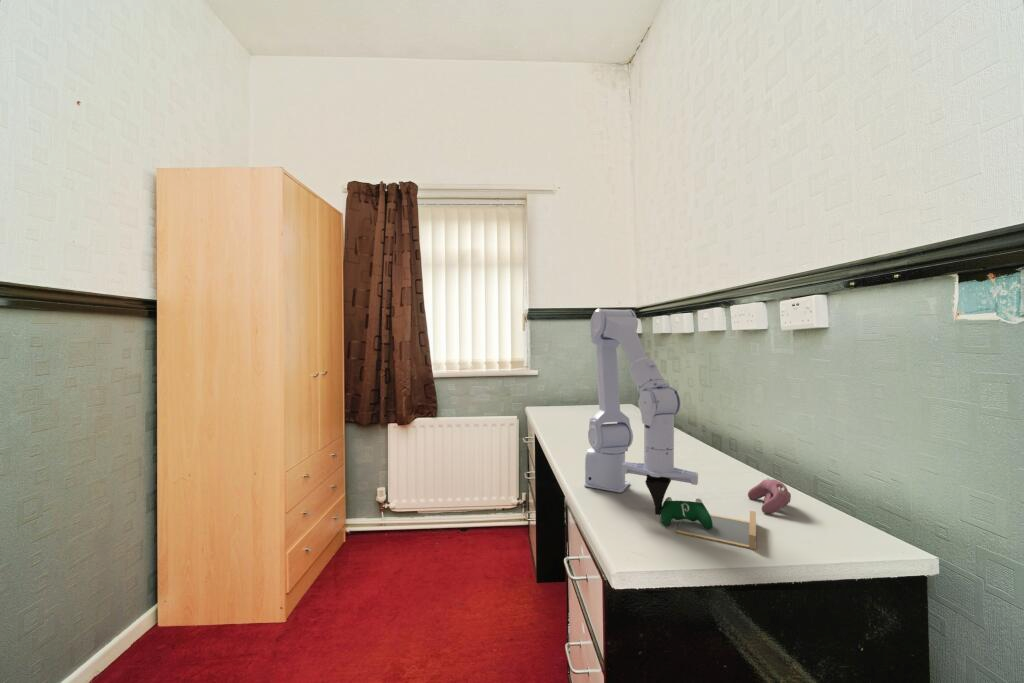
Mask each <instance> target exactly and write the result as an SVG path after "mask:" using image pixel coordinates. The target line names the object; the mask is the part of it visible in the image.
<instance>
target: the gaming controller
mask: <svg viewBox="0 0 1024 683" xmlns="http://www.w3.org/2000/svg"><path fill="white" fill-rule="evenodd" d="M673 520H675V521H681V520H690V521H693V522H694V521H696V520H698V521H699V522H700V523H701V524H702V526H703V527H704V528H706V529H711V528H712V527H713V523H712V519H711V516H710V513H709V510H708V509H707V507H706V506H705V504H704V503H703V501H702V500H701V498H696V499H695V500H694V501H691V500H690V501H689V500H672V497H671V496H667V497H666V498H665V500H664V502H663V503H662V509H661V514H660V522H661V525H662V526H664V527H668V526H670V525H671V523H672V521H673Z"/></svg>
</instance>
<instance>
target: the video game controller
mask: <svg viewBox="0 0 1024 683" xmlns="http://www.w3.org/2000/svg"><path fill="white" fill-rule="evenodd" d="M747 497H748V499H750V500H759V499H762V498H763V502H764V503H763V504H762V506H761V511H762V513H764V514H766V515H771V514H774V513H777V512H779V511H781V510H782V509H783V508H784V507H787V506H788V504H790V503H791V500H792V498H791V497H792V494H791V492H789V490H788V488H787V486H786V485H785V484H784V482H781V481H779V480H777V479H774V478H773V479H771V478H769V477H767V478H766V479H763V480H762V481H761V482H760V483H758V484H757V485H755V486H753V487H752V488H751V489H749V490H748V491H747Z"/></svg>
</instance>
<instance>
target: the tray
mask: <svg viewBox="0 0 1024 683" xmlns="http://www.w3.org/2000/svg"><path fill="white" fill-rule="evenodd" d="M709 514H710V513H709ZM756 514H757V511H753V510H749V520H748V521H747V520H742V519H739V518H732V517H727V516H722V515H717V514H710V516H711V519H712V523H713V527H712V528H711V529H706V528H704V527H703V526H702V524H701V523H700V522H699V521H698V520H696V521H694V522H693V521H690V520H679V521H680V522H679V524H678V526H677V529H676V534H681V535H685V536H690V537H694V538H699V539H703V540H709V541H713V542H718V543H722V544H727V545H732V546H737V547H741V548H746V549H751V550H756V549H757V548H756V547H757V544H756V543H757V542H756V540H757V539H756V538H757V526H756V525H757V522H756V521H757V515H756Z"/></svg>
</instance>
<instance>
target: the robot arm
mask: <svg viewBox="0 0 1024 683" xmlns="http://www.w3.org/2000/svg"><path fill="white" fill-rule="evenodd" d="M589 321H590V324H589V325H590V337H591V338H590V339H591V340H590V341H591V343H592V344H594V345H595V356H596V357H595V358H596V373H597V388H598V392H597V393H598V406H599V408H598V409H599V410H598V411H597V412H596V413H595V414H594V415H593V416H591V417H590V419H589V424H588V425H589V426H588V427H589V428H588V432H587V439H588V443H589V445H590V447H589V448H588V449H587V451H586V453H585V459H584V460H585V463H584V464H585V465H584V470H585V471H584V473H585V476H584V481H585V482H584V485H583V486H584V487H587V488H593V489H599V490H603V491H609V492H614V493H619V494H620V493H623V492H624V491H625V490H626V489H627V488H628V486H629V485H630V484H631V482H630V481H628V480H626V475H627V474H631V475H638V476H643V477H644V476H645V477H646V478H645V485H646V487H647V489H648V491H649V493H650V496H651V497H652V498H651V499H652V501H653V505H654V514H655V515H656V516H661V509H662V506H663V503H664V502H663V500H664V498H665V495H666V492H667V490H668V489H669V486H670V484H671V482H672V481H676V482H681V483H682V482H683V483H687V484H691V485H694V486H697V485H698V484H699V473H698V472H697V471H691V470H685V469H683V468H677V467H674V466H675V464H674V462H675V461H674V460H675V457H674V456H675V455H674V454H675V443H674V442H675V416H676V415H677V414H678V413H679V412H680V409H681V406H682V405H681V397H680V394H679V391H678V390H677V389H676V388H675V387H673V386H671V385H670V383H667V382H666V381H665V380H664V378H663V375H662V373H661V372H660V370H659V368H658V366H657V363H656V361H655V360H654V359H653V358H650V357H647V355H646V353H645V350H644V347H643V345H642V342H641V339H640V337H639V334H638V332H637V330H638V325H639V320H638V317H637V314H636V313H635V311H634V310H632V309H629V308H628V309H605V308H603V309H602V308H597V309H595V310H594V312H593V313H592V316H591V318H590V320H589ZM619 345H620V346H621V347H622V348H621V349H622V350H623V351H624V353H625V355H626V356H627V359H628V360H629V362H630V366H629V369H628V371H629V374H630V376H631V378H632V381H633V382H634V384H635V388H636V389H637V391H638V394H639V397H638V398H639V399H638V401H637V403H638V409H639V411H640V416H641V422H642V424H643V426H644V430H643V431H644V438H643V439H644V441H643V442H644V443H643V444H644V445H643V447H644V448H643V449H644V450H643V452H644V453H643V454H644V455H643V458H644V459H643V462H644V463H643V462H639V463H638V462H627V461H626V452H628V451H629V447H631V445H632V444H633V440H634V434H633V430H632V427H631V423H630V418H629V417H628V416H627V415H625V413H623V412H622V411H621V404H620V403H621V402H620V387H619V385H620V384H619V372H618V356H617V350H618V349H617V348H618V347H619Z"/></svg>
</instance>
